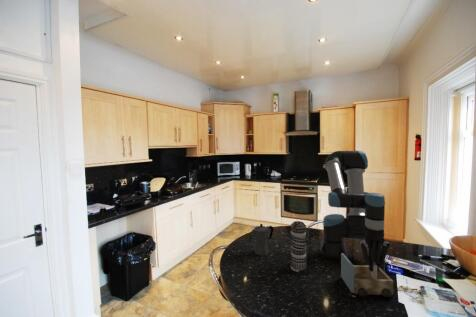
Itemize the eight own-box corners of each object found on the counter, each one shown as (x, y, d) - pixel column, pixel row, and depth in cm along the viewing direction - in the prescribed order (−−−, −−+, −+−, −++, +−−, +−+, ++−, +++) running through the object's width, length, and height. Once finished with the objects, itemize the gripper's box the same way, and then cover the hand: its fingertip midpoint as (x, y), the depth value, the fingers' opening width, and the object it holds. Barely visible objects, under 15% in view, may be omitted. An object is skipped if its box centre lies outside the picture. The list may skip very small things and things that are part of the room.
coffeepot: (255, 257, 131) (255, 228, 130) (248, 251, 140) (248, 223, 139) (277, 252, 137) (277, 224, 136) (269, 246, 146) (269, 219, 145)
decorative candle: (295, 261, 126) (295, 218, 125) (310, 267, 120) (310, 222, 118) (286, 267, 120) (286, 222, 118) (301, 274, 113) (301, 227, 112)
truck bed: (356, 297, 96) (356, 281, 95) (342, 277, 110) (342, 263, 110) (394, 298, 95) (395, 282, 94) (376, 278, 109) (376, 264, 109)
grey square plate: (351, 292, 97) (352, 266, 96) (341, 276, 109) (341, 253, 108) (354, 293, 97) (354, 266, 96) (343, 276, 109) (343, 253, 108)
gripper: (384, 224, 104) (383, 273, 105) (355, 224, 105) (355, 272, 106) (394, 230, 96) (393, 283, 97) (363, 230, 97) (363, 282, 98)
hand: (373, 277), depth 102 cm, fingers closed
